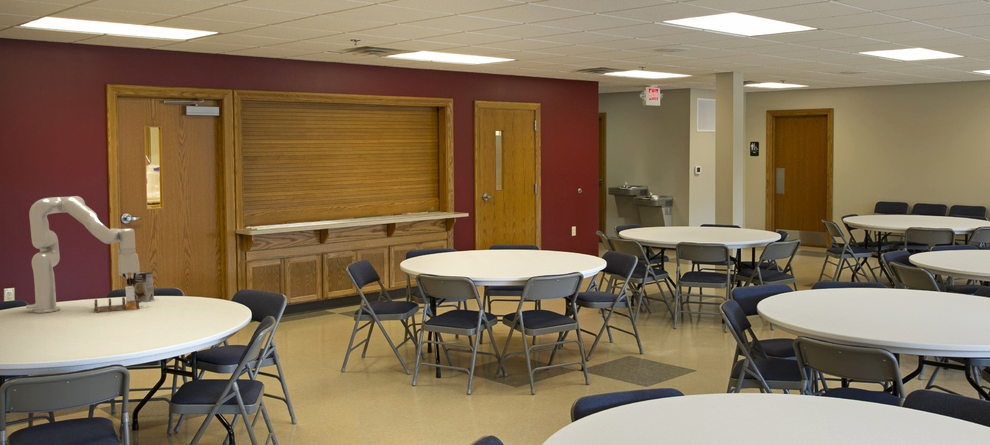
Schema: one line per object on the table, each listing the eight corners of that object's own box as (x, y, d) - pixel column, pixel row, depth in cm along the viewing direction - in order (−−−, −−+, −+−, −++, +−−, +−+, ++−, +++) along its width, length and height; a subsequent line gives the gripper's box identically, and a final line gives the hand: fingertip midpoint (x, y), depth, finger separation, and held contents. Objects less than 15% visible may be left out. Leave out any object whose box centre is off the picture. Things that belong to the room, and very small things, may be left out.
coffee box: (133, 301, 468) (131, 272, 467) (141, 299, 474) (139, 271, 473) (146, 302, 466) (145, 273, 464) (154, 300, 472) (153, 271, 471)
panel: (126, 308, 443) (125, 289, 442) (126, 304, 453) (125, 286, 452) (135, 307, 444) (134, 288, 444) (134, 304, 454) (133, 286, 453)
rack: (94, 313, 434) (94, 303, 434) (95, 308, 448) (94, 299, 448) (139, 309, 443) (139, 300, 443) (138, 304, 457) (137, 296, 457)
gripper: (112, 253, 440) (114, 287, 441) (143, 251, 446) (145, 285, 447) (112, 252, 446) (114, 286, 448) (142, 250, 453) (144, 283, 454)
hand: (130, 285), depth 448 cm, fingers closed
